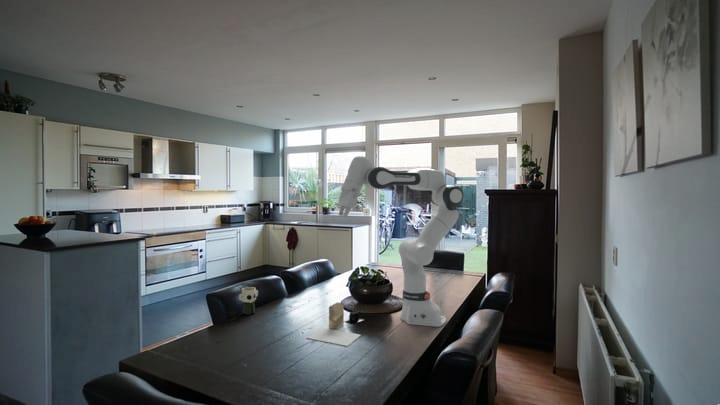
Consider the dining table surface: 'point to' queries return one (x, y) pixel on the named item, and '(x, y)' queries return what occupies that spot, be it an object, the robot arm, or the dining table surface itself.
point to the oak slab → (336, 316)
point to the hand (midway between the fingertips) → (342, 216)
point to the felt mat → (334, 336)
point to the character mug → (248, 299)
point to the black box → (354, 318)
